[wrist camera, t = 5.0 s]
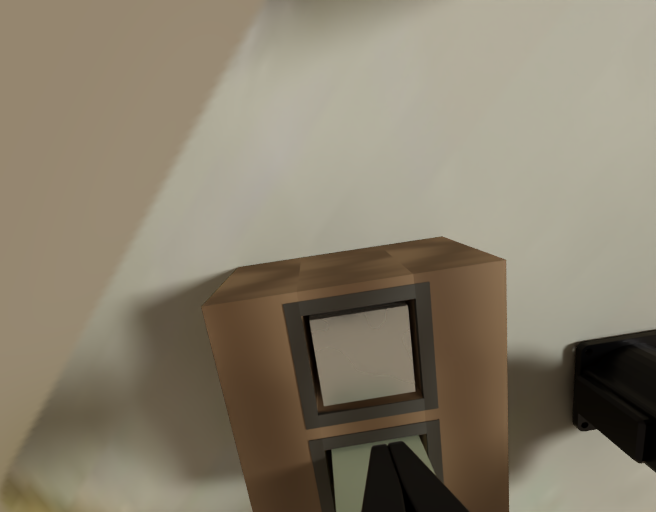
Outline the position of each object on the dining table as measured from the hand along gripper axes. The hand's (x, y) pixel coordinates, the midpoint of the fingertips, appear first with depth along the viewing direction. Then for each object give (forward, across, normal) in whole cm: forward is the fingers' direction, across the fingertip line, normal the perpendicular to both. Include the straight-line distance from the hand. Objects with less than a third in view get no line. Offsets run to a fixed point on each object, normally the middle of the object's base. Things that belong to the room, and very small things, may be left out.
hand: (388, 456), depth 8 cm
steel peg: (+11, 0, 0) cm, 11 cm away
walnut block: (+11, 0, +3) cm, 11 cm away
